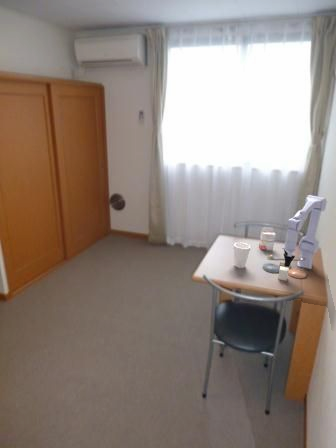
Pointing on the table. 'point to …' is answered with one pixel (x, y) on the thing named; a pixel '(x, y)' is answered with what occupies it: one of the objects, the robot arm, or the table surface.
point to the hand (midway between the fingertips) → (286, 263)
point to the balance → (284, 259)
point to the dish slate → (271, 268)
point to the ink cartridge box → (267, 239)
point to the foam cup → (241, 254)
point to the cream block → (283, 273)
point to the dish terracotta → (296, 273)
